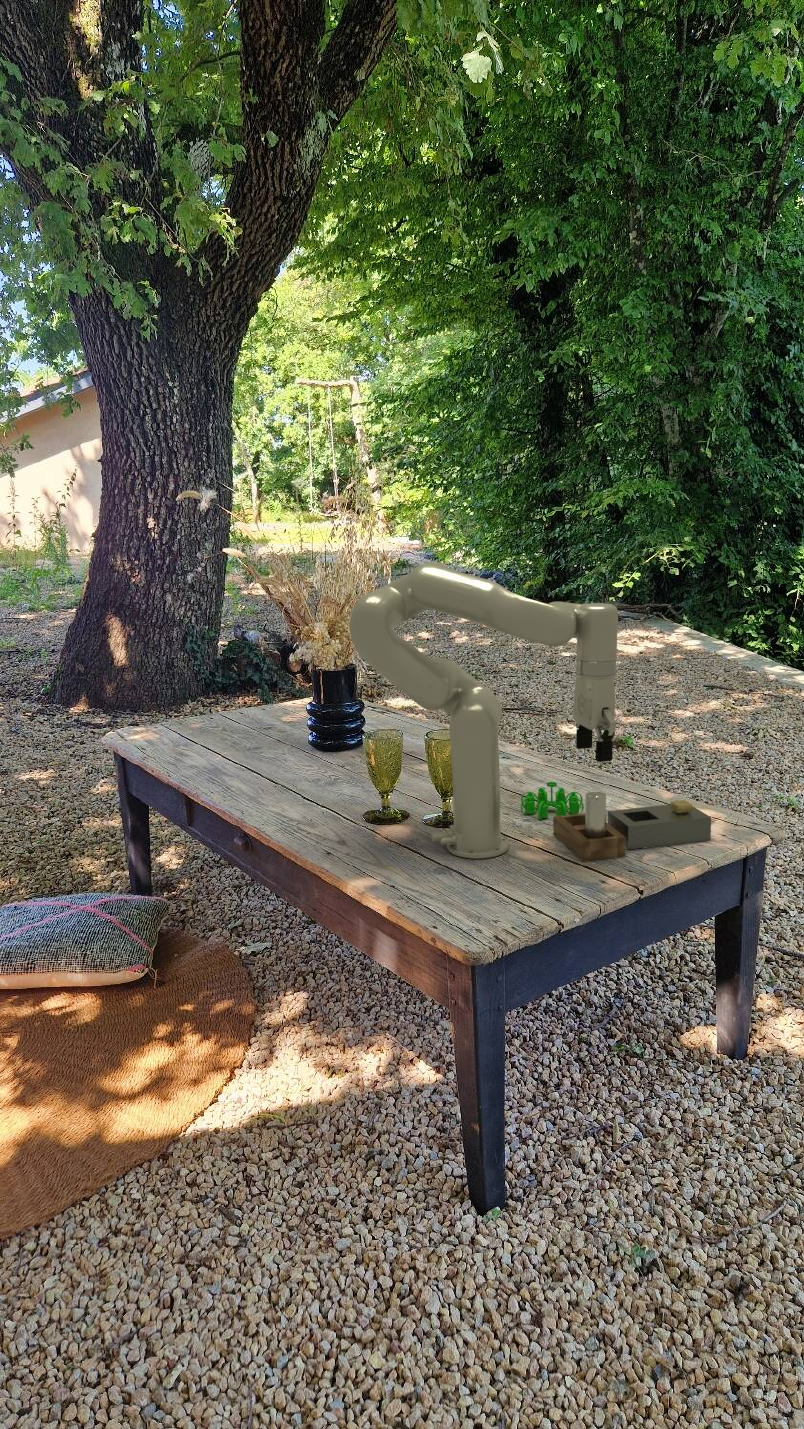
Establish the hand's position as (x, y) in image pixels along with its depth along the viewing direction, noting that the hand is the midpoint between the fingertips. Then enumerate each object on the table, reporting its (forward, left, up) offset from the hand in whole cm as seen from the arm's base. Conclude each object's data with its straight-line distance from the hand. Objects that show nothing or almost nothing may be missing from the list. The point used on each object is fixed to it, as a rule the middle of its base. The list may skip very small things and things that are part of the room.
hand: (593, 754), depth 177 cm
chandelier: (+1, +26, -21) cm, 33 cm away
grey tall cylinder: (0, 0, -20) cm, 20 cm away
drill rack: (0, +4, -20) cm, 21 cm away
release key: (+21, +4, -20) cm, 29 cm away
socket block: (+16, +4, -20) cm, 26 cm away
